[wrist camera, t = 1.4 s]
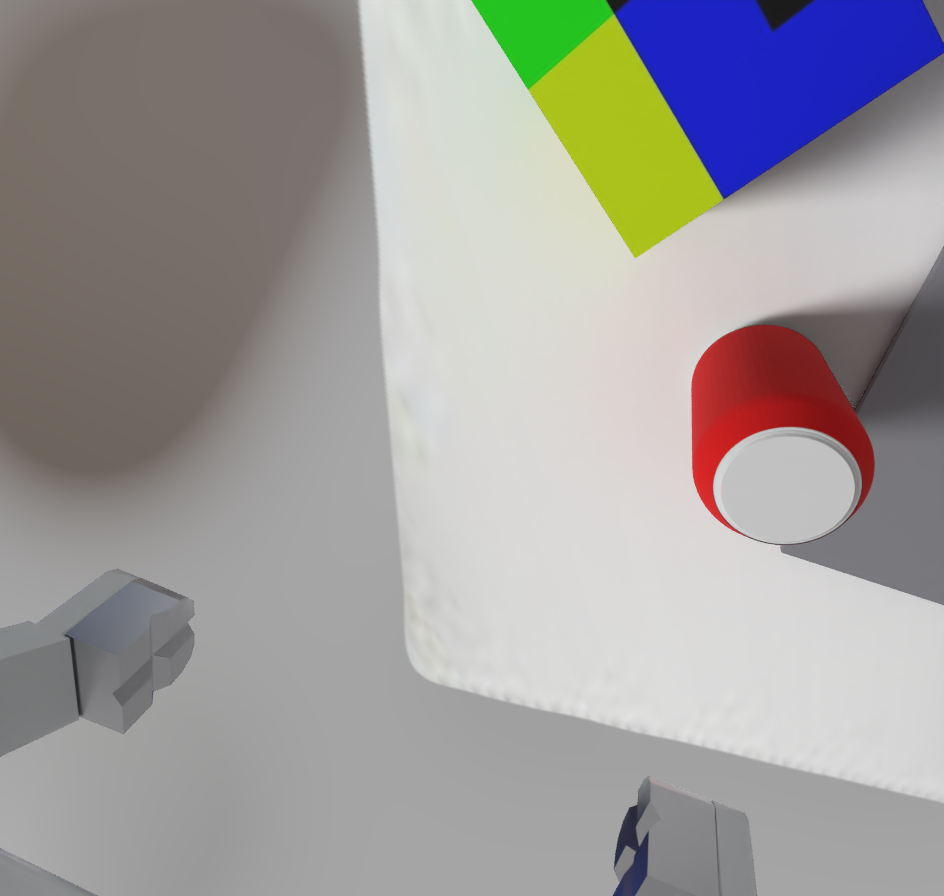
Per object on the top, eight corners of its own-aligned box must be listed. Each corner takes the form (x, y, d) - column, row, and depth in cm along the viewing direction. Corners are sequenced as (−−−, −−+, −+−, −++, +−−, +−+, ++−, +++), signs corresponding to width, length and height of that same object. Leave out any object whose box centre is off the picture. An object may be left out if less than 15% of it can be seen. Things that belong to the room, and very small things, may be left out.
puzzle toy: (864, 74, 27) (946, 50, 18) (649, 222, 32) (635, 258, 23) (742, -161, 25) (771, -310, 16) (532, 34, 30) (469, -3, 21)
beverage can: (689, 324, 33) (690, 414, 23) (827, 313, 31) (896, 406, 21) (692, 434, 36) (694, 560, 25) (820, 430, 33) (879, 566, 23)
